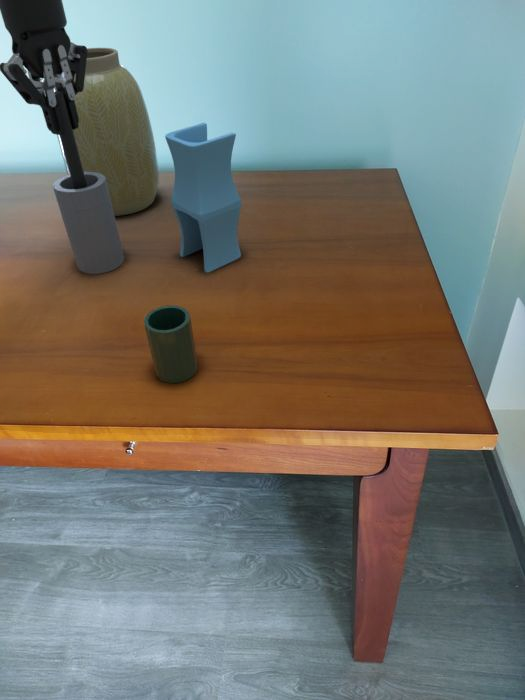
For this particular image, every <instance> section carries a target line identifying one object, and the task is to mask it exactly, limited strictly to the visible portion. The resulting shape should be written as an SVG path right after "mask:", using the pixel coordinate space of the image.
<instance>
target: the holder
mask: <svg viewBox="0 0 525 700" xmlns="http://www.w3.org/2000/svg"><path fill="white" fill-rule="evenodd" d="M143 324H144V325H143V326H144V329H145V334H146V337H147V343H148V347H149V351H150V355H151V359H152V365H153V369H154V373H155V376H156V378H158V379H159V380H160V381H161V382H164V383H168V384H177V383H178V384H179V383H182V382H183V383H184V382H185V381H188V380H190V379H191V378H193V377H194V375H196V373H197V371H198V367H199V366H198V358H197V350H196V343H195V337H194V332H193V326H192V319H191V315H190V312H189V311H188V310H187V309H186V308H185V307H183V306H180V305H174V304H173V305H170V304H169V305H162V306H159V307H156V308H154V309H152V310H151V311H149V312H147V314H146V315H145V317H144V319H143Z"/></svg>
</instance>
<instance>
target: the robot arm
mask: <svg viewBox="0 0 525 700" xmlns="http://www.w3.org/2000/svg"><path fill="white" fill-rule="evenodd" d="M0 15H1V17H2V22H3V24H4V28H5V29H6V31H7V32H8V33H9V35H10V37H11V52H12V55H11V57H10V58H9V59H8V61H6V62H1V63H0V72H1V73H2V75H3V76H4V77H5V78H6V80H7V81H8V82H9V84H11V86H12V87H13V88H14V89H15V91H16V92H17V93H18V94H19V95H20V96H21V98H22V99H23V100H24V101H25V103H26V104H27V105H35V106H39V107H40V108H41V110H42V114H43V118H44V121H45V125H46V127H47V130H48V131H50V132H51V134H53V135H58V136H59V135H62V134H64V133H65V128H64V125H63V121H62V117H61V114H60V110H59V106H56V98H55V93H54V89H55V91H61V92H63V94H64V98H65V102H66V106H67V110H68V113H69V117H70V121H71V125H72V129H73V130H74V129H77V128H78V127H79V125H78V123H79V118H78V114H77V110H76V106H75V102H74V99H75V95H76V94H77V93H78V92H82V91H83V88H84V79H85V70H86V61H87V52H88V51H87V46H86V45H82V44H81V45H80V44H79V45H78V44H76V43H74V42H72V41H71V38H70V36H69V35H68V33H67V31H66V29H65V27H66V26H67V24H68V21H67V16H66V12H65V7H64V4H63V0H0ZM75 74H76V77H75ZM74 78H75V82H74ZM62 84H63V85H62Z"/></svg>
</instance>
